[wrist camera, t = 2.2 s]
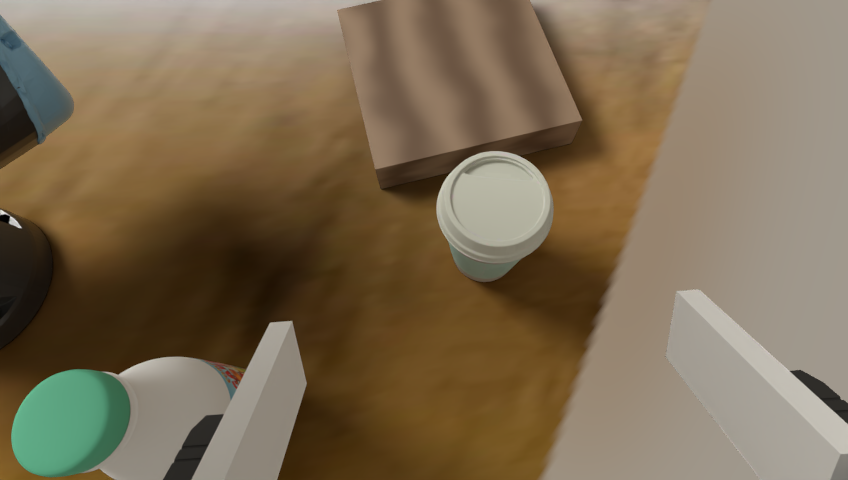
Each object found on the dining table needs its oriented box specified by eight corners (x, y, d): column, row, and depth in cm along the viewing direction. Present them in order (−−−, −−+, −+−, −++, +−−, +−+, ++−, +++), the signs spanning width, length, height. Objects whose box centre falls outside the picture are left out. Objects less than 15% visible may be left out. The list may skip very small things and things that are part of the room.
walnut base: (380, 189, 46) (375, 169, 43) (344, 38, 53) (337, 10, 50) (571, 143, 47) (582, 120, 44) (511, 1, 54) (516, -30, 51)
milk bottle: (281, 467, 38) (122, 522, 19) (188, 466, 38) (-57, 519, 19) (291, 370, 41) (160, 334, 22) (204, 369, 41) (2, 334, 22)
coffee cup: (547, 245, 44) (583, 187, 32) (493, 315, 42) (511, 279, 30) (474, 194, 46) (484, 124, 35) (419, 258, 44) (411, 205, 32)
